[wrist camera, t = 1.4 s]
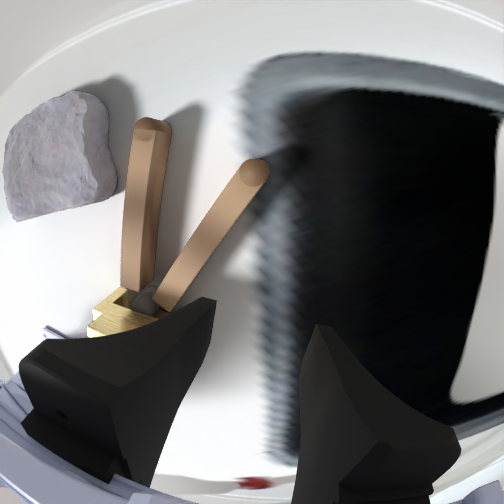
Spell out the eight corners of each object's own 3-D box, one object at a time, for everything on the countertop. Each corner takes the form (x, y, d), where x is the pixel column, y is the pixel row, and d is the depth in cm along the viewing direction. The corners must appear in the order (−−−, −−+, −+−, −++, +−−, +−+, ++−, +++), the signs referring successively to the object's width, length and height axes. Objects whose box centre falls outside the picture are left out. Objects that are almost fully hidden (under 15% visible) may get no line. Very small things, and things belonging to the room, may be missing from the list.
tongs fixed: (171, 350, 24) (161, 367, 21) (136, 337, 24) (123, 353, 21) (200, 125, 18) (188, 120, 15) (153, 120, 18) (136, 116, 16)
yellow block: (192, 340, 22) (165, 389, 17) (120, 316, 23) (82, 355, 17) (195, 310, 22) (166, 357, 16) (120, 287, 22) (76, 322, 16)
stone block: (35, 130, 21) (33, 225, 22) (3, 121, 16) (-2, 227, 17) (125, 90, 20) (126, 204, 20) (94, 67, 15) (89, 201, 16)
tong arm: (180, 298, 22) (169, 312, 19) (164, 285, 21) (151, 298, 19) (275, 169, 18) (273, 169, 16) (255, 154, 18) (250, 153, 15)
